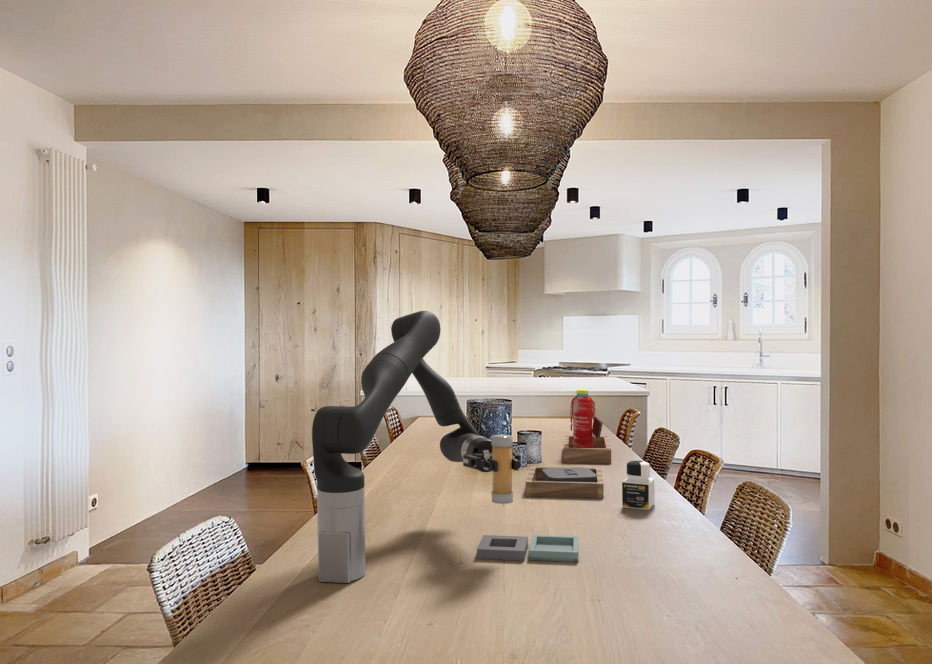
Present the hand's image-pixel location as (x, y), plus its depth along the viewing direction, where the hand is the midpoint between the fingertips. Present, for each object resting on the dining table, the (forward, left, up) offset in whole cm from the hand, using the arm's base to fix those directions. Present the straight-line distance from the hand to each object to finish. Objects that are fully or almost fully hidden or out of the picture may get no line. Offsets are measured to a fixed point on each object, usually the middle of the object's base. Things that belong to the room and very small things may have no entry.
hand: (506, 466), depth 146 cm
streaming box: (+64, -12, -20) cm, 68 cm away
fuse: (+2, +1, -8) cm, 8 cm away
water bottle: (+120, -18, -19) cm, 122 cm away
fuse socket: (+3, +1, -19) cm, 19 cm away
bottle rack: (+120, -18, -19) cm, 122 cm away
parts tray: (+4, -10, -19) cm, 22 cm away
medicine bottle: (+46, -31, -19) cm, 58 cm away
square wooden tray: (+65, -11, -19) cm, 68 cm away
